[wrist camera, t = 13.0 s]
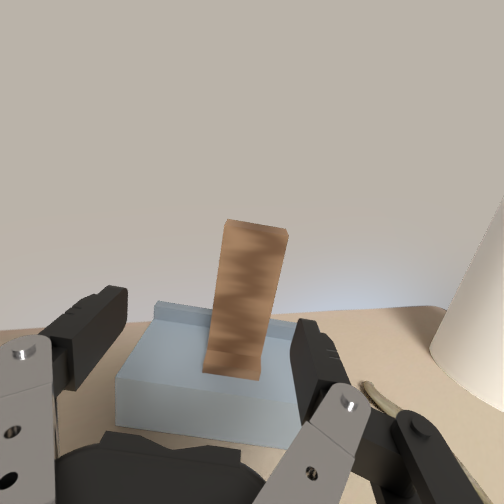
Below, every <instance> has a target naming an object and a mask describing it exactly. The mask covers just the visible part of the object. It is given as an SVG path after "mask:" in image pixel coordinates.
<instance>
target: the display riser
mask: <svg viewBox="0 0 504 504" xmlns="http://www.w3.org/2000/svg"><path fill="white" fill-rule="evenodd" d="M212 310H213V309H206V308H200V307H193V306H188V305H181V304H175V303H169V302H162V301H158V302H157V303H156V305H155V306H154V319H153V321H152V322H151V324H150V325H149V327H148V328H147V330H146V331H145V333H144V334H143V336H142V337H141V339H140V340H139V342H138V343H137V345H136V346H135V348H134V349H133V351H132V352H131V354H130V355H129V357H128V358H127V360H126V362H125V363H124V365H123V366H122V368H121V369H120V371H119V372H118V374H117V375H116V377H115V424H116V426H122V427H129V428H136V429H143V430H150V431H157V432H165V433H172V434H179V435H186V436H193V437H200V438H207V439H214V440H221V441H229V442H236V443H243V444H250V445H257V446H264V447H271V448H278V449H285V450H287V449H288V448H289V446H290V445H291V443H292V442H293V440H294V439H295V437H296V435H297V434H298V432H299V431H300V429H301V428H302V426H301V422H300V416H299V410H298V404H297V398H296V392H295V386H294V381H293V375H292V369H291V363H290V346H291V342H292V339H293V335H294V332H295V329H296V325H297V323H294V322H287V321H281V320H275V319H270V320H269V324H268V329H267V333H266V337H265V342H264V346H263V351H262V355H261V374H260V378H259V381H255V380H248V379H241V378H235V377H228V376H221V375H214V374H208V373H202V370H203V363H204V359H205V355H206V351H207V346H208V339H209V332H210V324H211V317H212ZM318 328H319V327H318ZM319 331H320V330H319Z"/></svg>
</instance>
